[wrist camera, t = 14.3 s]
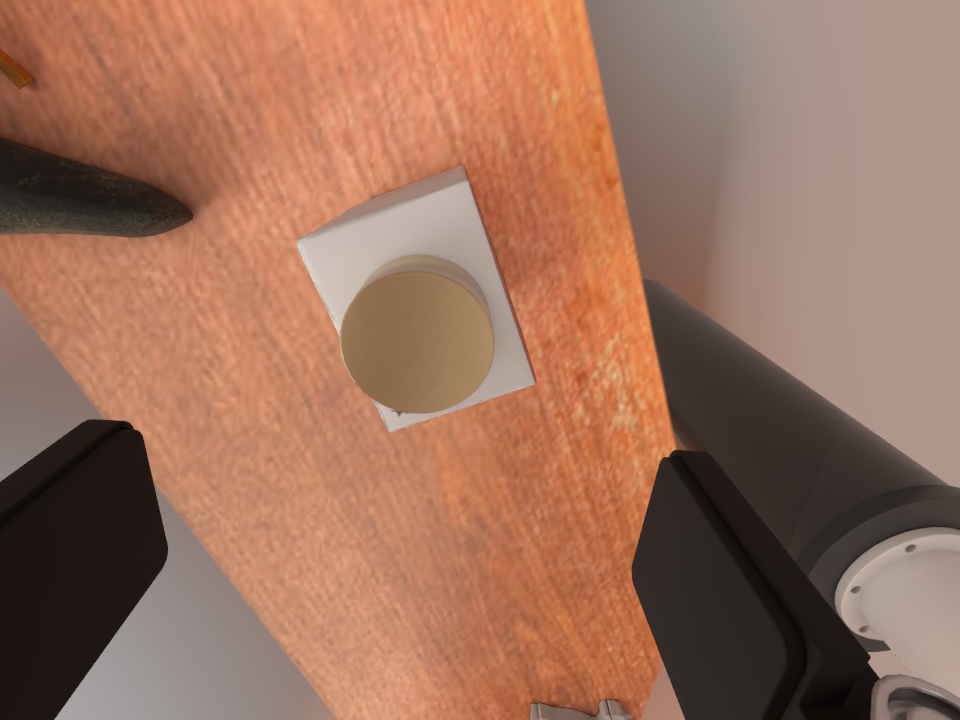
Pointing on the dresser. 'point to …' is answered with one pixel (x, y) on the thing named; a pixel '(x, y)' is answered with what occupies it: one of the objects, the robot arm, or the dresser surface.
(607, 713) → the grey notched plate
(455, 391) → the cylinder
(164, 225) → the stone tool
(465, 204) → the small box
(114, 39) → the dresser surface
